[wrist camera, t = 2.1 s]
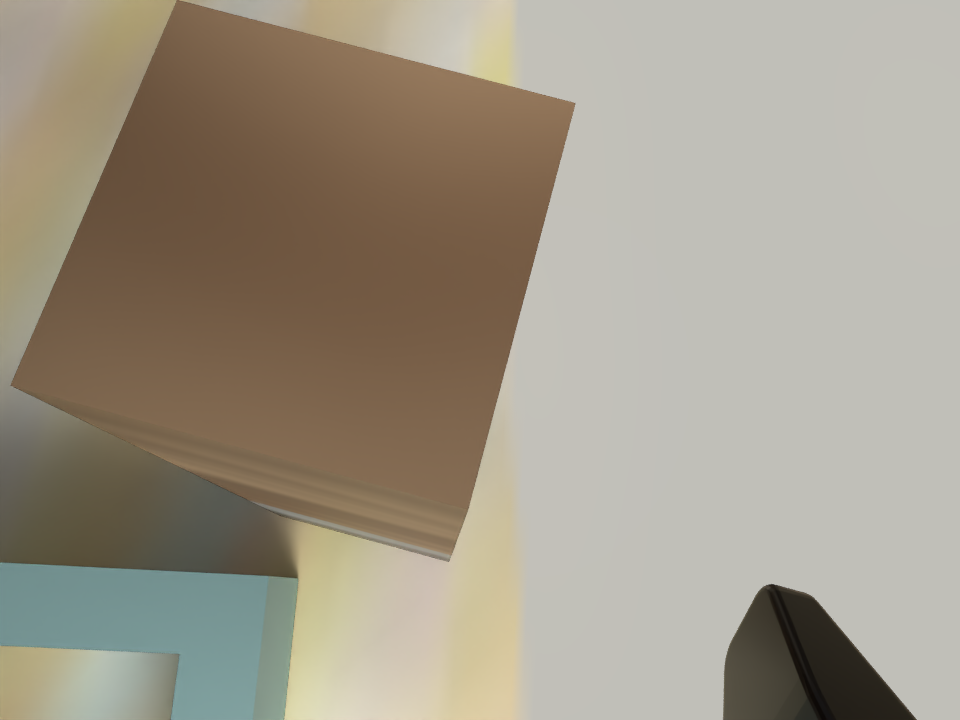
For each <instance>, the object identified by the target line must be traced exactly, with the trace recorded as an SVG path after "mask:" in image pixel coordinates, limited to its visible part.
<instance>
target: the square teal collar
mask: <svg viewBox="0 0 960 720" xmlns="http://www.w3.org/2000/svg"><path fill="white" fill-rule="evenodd" d="M297 588H298V579H296V578H285V577H275V576H259V575H239V574H220V573H200V572H180V571H160V570H140V569H120V568H100V567H80V566H60V565H41V564H21V563H1V562H0V646H22V647H43V648H64V649H85V650H107V651H128V652H149V653H171V654H180V655H179V662H178V670H177V677H176V684H175V692H174V699H173V706H172V714H171V720H284V715H285V705H286V695H287V686H288V676H289V666H290V656H291V647H292V637H293V627H294V617H295V608H296V598H297Z"/></svg>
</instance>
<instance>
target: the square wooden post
mask: <svg viewBox="0 0 960 720" xmlns="http://www.w3.org/2000/svg"><path fill="white" fill-rule="evenodd" d="M574 107H575V103H573V102H569V101H565V100H561V99H557V98H553V97H550V96H546V95H542V94H538V93H534V92H530V91H527V90H523V89H519V88H515V87H511V86H507V85H503V84H500V83H496V82H492V81H488V80H484V79H480V78H476V77H472V76H469V75H465V74H461V73H457V72H453V71H449V70H445V69H442V68H438V67H434V66H430V65H426V64H422V63H418V62H415V61H411V60H407V59H403V58H399V57H395V56H391V55H388V54H384V53H380V52H376V51H372V50H368V49H364V48H361V47H357V46H353V45H349V44H345V43H341V42H337V41H334V40H330V39H326V38H322V37H318V36H314V35H310V34H306V33H303V32H299V31H295V30H291V29H287V28H283V27H279V26H276V25H272V24H268V23H264V22H260V21H256V20H252V19H249V18H245V17H241V16H237V15H233V14H229V13H225V12H222V11H218V10H214V9H210V8H206V7H202V6H198V5H195V4H191V3H187V2H183V1H179V0H177V2H176V4H175V6H174V9H173V11H172V13H171V16H170V18H169V20H168V22H167V25H166V27H165V29H164V32H163V34H162V36H161V39H160V41H159V43H158V46H157V48H156V50H155V53H154V55H153V57H152V59H151V62H150V64H149V66H148V69H147V71H146V73H145V76H144V78H143V80H142V83H141V85H140V87H139V90H138V92H137V94H136V96H135V99H134V101H133V103H132V106H131V108H130V110H129V113H128V115H127V117H126V120H125V122H124V124H123V126H122V129H121V131H120V133H119V136H118V138H117V140H116V143H115V145H114V147H113V150H112V152H111V154H110V157H109V159H108V161H107V163H106V166H105V168H104V170H103V173H102V175H101V177H100V180H99V182H98V184H97V187H96V189H95V191H94V194H93V196H92V198H91V200H90V203H89V205H88V207H87V210H86V212H85V214H84V217H83V219H82V221H81V224H80V226H79V228H78V230H77V233H76V235H75V237H74V240H73V242H72V244H71V247H70V249H69V251H68V254H67V256H66V258H65V261H64V263H63V265H62V267H61V270H60V272H59V274H58V277H57V279H56V281H55V284H54V286H53V288H52V291H51V293H50V295H49V298H48V300H47V302H46V304H45V307H44V309H43V311H42V314H41V316H40V318H39V321H38V323H37V325H36V328H35V330H34V332H33V334H32V337H31V339H30V341H29V344H28V346H27V348H26V351H25V353H24V355H23V358H22V360H21V362H20V365H19V367H18V369H17V371H16V374H15V376H14V378H13V381H12V383H11V386H13V387H15V388H17V389H19V390H21V391H23V392H25V393H27V394H29V395H31V396H34V397H36V398H38V399H40V400H42V401H44V402H46V403H48V404H50V405H52V406H54V407H56V408H58V409H60V410H63V411H65V412H67V413H69V414H71V415H73V416H75V417H77V418H79V419H81V420H83V421H85V422H87V423H89V424H91V425H94V426H96V427H98V428H100V429H102V430H104V431H106V432H108V433H110V434H112V435H114V436H116V437H118V438H120V439H123V440H125V441H127V442H129V443H131V444H133V445H135V446H137V447H139V448H141V449H143V450H145V451H147V452H149V453H151V454H154V455H156V456H158V457H160V458H162V459H164V460H166V461H168V462H170V463H172V464H174V465H176V466H178V467H180V468H183V469H185V470H187V471H189V472H191V473H193V474H195V475H197V476H199V477H201V478H203V479H205V480H207V481H209V482H211V483H214V484H216V485H218V486H220V487H222V488H224V489H226V490H228V491H230V492H232V493H234V494H236V495H238V496H240V497H243V498H245V499H247V500H249V501H251V502H253V503H255V504H257V505H259V506H261V507H263V508H265V509H267V510H269V511H271V512H274V513H276V514H278V515H280V516H283V517H287V518H290V519H294V520H298V521H301V522H305V523H309V524H312V525H316V526H320V527H323V528H327V529H331V530H334V531H338V532H342V533H345V534H349V535H353V536H356V537H360V538H364V539H367V540H371V541H375V542H378V543H382V544H386V545H389V546H393V547H397V548H400V549H404V550H408V551H411V552H415V553H419V554H422V555H426V556H430V557H433V558H437V559H441V560H444V561H448V562H449V561H450V558H451V555H452V552H453V550H454V547H455V544H456V541H457V539H458V536H459V533H460V530H461V528H462V525H463V522H464V520H465V517H466V514H467V511H468V508H469V504H470V501H471V497H472V493H473V489H474V486H475V482H476V478H477V474H478V470H479V467H480V463H481V459H482V455H483V451H484V448H485V444H486V440H487V436H488V433H489V429H490V425H491V421H492V417H493V414H494V410H495V406H496V402H497V398H498V395H499V391H500V387H501V383H502V380H503V376H504V372H505V368H506V364H507V361H508V357H509V353H510V349H511V346H512V342H513V338H514V334H515V330H516V327H517V323H518V319H519V315H520V311H521V308H522V304H523V300H524V296H525V293H526V289H527V285H528V281H529V277H530V274H531V270H532V266H533V262H534V259H535V255H536V251H537V247H538V243H539V240H540V236H541V232H542V228H543V224H544V221H545V217H546V213H547V209H548V205H549V202H550V198H551V193H552V190H553V187H554V183H555V179H556V175H557V171H558V168H559V164H560V160H561V156H562V152H563V149H564V145H565V141H566V137H567V133H568V130H569V126H570V122H571V118H572V115H573V111H574Z"/></svg>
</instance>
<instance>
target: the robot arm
mask: <svg viewBox="0 0 960 720" xmlns="http://www.w3.org/2000/svg"><path fill="white" fill-rule="evenodd" d="M723 720H917V719H916V718H915V717H914V716H913V715H912V713H911V712H910V711H909V710H908V709H907V707H906V706H905V705H904V704H903V703H902V701H901V700H900V699H899V698H898V697H897V696H896V694H895V693H894V692H893V691H892V690H891V688H890V687H889V686H888V685H887V684H886V682H885V681H884V680H883V679H882V678H881V677H880V675H879V674H878V673H877V672H876V671H875V669H874V668H873V667H872V666H871V665H870V664H869V663H868V661H867V660H866V659H865V657H864V656H863V655H862V654H861V653H860V652H859V650H858V649H857V648H856V647H855V646H854V644H853V643H852V642H851V641H850V640H849V638H848V637H847V636H846V635H845V634H844V632H843V631H842V630H841V629H840V628H839V627H838V625H837V624H836V623H835V622H834V621H833V620H832V618H831V617H830V616H829V615H828V614H827V612H826V611H825V610H824V609H823V607H822V606H821V605H820V604H819V603H818V602H817V601H816V600H815V599H814V598H813V597H812V596H811V595H809V594H806V593H804V592H800V591H796V590H793V589H789V588H785V587H782V586H778V585H774V584H770V585H766V586H764V587H763V588H761V590H760V591H759V592H758V593H757V595H756V596H755V598H754V600H753V602H752V604H751V606H750V607H749V609H748V611H747V613H746V615H745V617H744V619H743V621H742V622H741V624H740V626H739V628H738V630H737V632H736V634H735V635H734V637H733V639H732V641H731V643H730V646H729V648H728V652H727V655H726V661H725V670H724V708H723Z"/></svg>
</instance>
